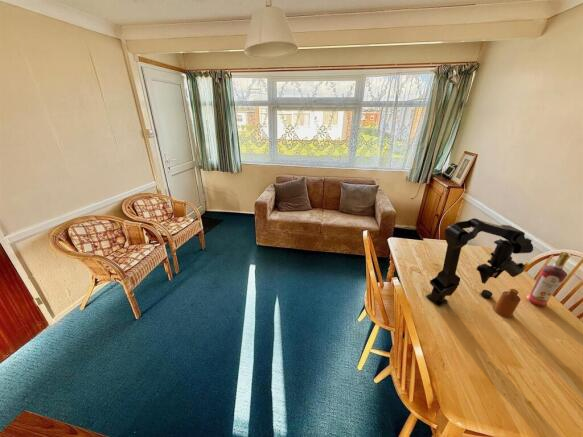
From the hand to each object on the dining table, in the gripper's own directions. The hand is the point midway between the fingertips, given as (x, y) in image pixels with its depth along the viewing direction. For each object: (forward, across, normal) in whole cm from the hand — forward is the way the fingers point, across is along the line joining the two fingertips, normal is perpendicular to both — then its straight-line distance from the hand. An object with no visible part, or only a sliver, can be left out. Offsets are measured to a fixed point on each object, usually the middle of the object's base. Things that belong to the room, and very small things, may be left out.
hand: (489, 280), depth 108 cm
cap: (+8, +2, -1) cm, 8 cm away
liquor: (+10, +19, -13) cm, 25 cm away
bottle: (+10, -2, -10) cm, 14 cm away
